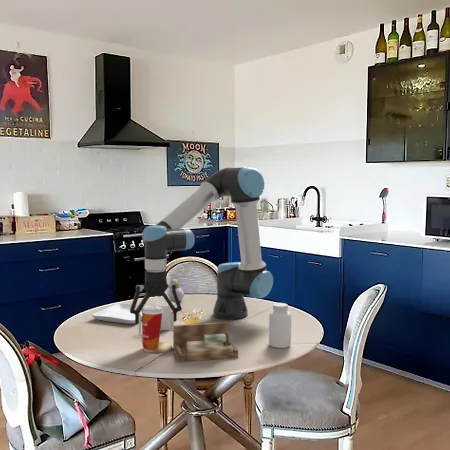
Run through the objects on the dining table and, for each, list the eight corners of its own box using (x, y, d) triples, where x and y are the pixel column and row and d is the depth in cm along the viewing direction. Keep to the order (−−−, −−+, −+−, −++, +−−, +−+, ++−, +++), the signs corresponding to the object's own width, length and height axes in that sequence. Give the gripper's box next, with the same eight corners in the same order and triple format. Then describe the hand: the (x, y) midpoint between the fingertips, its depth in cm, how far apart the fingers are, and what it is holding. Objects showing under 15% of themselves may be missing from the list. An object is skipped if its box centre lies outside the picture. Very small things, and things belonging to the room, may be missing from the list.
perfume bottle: (182, 299, 255) (182, 275, 254) (186, 303, 246) (186, 279, 245) (167, 300, 253) (167, 276, 252) (170, 305, 244) (170, 280, 243)
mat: (170, 342, 189) (170, 341, 189) (173, 352, 179) (173, 350, 179) (142, 344, 187) (142, 343, 187) (144, 354, 177) (144, 352, 177)
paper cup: (140, 342, 186) (142, 304, 185) (161, 343, 187) (163, 305, 185) (138, 350, 178) (140, 310, 177) (161, 350, 179) (162, 311, 178)
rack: (227, 343, 189) (227, 321, 188) (238, 357, 174) (238, 334, 173) (173, 347, 184) (173, 325, 183) (179, 362, 170) (179, 338, 169)
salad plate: (133, 327, 209) (133, 319, 208) (90, 322, 217) (90, 314, 216) (159, 314, 228) (159, 307, 228) (119, 309, 236) (118, 302, 236)
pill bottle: (285, 350, 181) (285, 308, 180) (265, 346, 186) (265, 305, 184) (294, 343, 188) (295, 303, 187) (274, 340, 192) (275, 300, 191)
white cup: (172, 331, 203) (171, 306, 202) (153, 330, 204) (152, 305, 203) (177, 325, 211) (177, 301, 210) (159, 324, 212) (159, 300, 211)
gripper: (187, 267, 186) (186, 326, 189) (121, 269, 181) (122, 330, 184) (190, 270, 179) (190, 332, 181) (122, 273, 174) (123, 336, 176)
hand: (156, 331), depth 182 cm, fingers open, 11 cm apart
